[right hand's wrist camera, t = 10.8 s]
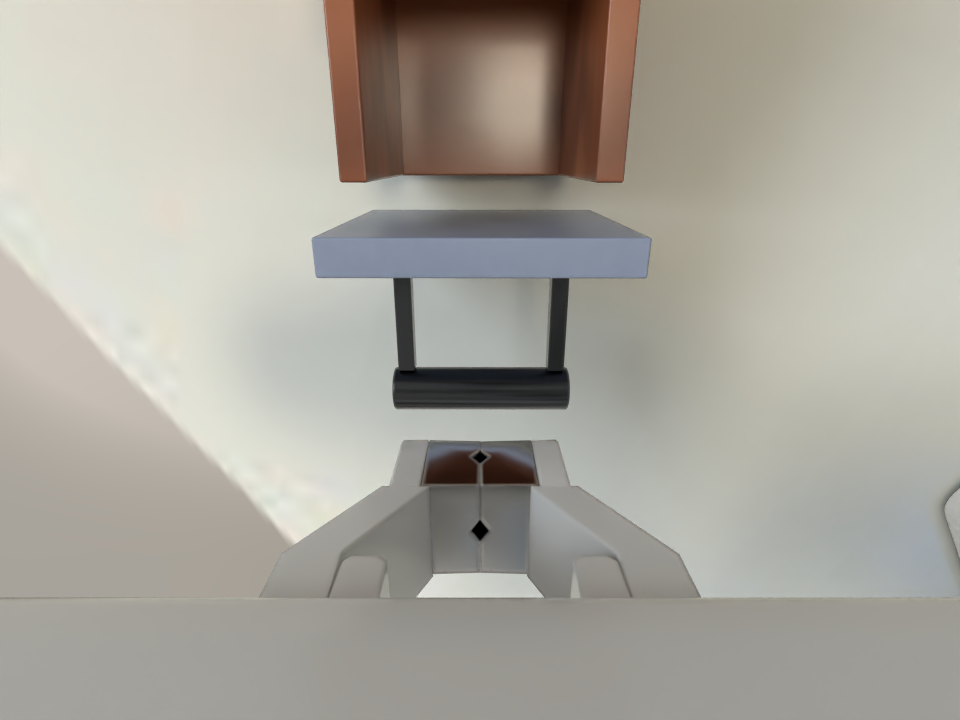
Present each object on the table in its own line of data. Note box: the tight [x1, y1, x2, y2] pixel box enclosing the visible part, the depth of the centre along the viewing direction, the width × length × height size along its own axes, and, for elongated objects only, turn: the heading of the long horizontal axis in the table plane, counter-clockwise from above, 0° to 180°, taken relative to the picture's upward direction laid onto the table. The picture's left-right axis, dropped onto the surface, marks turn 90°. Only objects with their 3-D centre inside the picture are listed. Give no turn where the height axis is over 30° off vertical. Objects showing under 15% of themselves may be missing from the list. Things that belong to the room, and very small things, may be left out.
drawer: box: [312, 0, 651, 409], centre depth 17 cm, size 24×10×9 cm, turn 0°
